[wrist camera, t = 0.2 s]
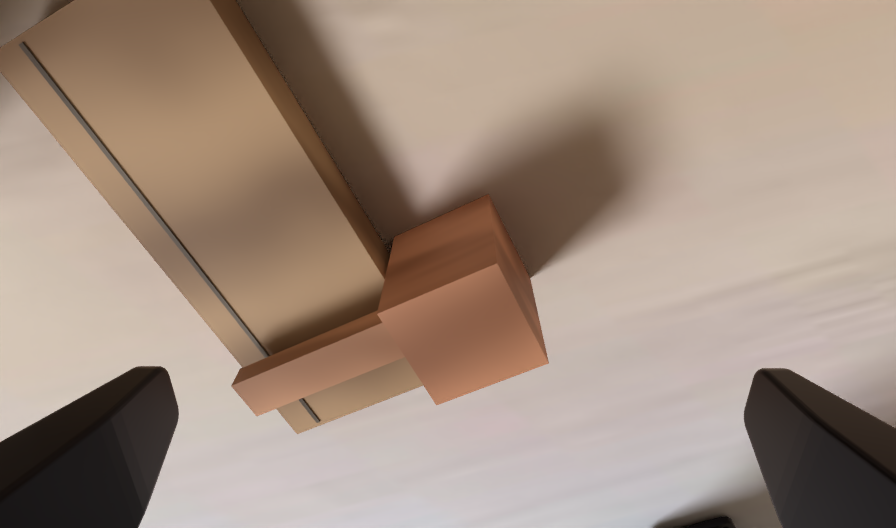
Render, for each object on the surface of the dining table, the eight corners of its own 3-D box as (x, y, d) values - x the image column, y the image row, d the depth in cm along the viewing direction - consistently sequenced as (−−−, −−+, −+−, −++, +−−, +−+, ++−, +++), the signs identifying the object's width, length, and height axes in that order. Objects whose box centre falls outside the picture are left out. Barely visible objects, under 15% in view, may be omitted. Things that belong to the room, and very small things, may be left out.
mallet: (530, 278, 24) (548, 363, 19) (299, 373, 26) (262, 470, 21) (488, 193, 22) (497, 263, 17) (245, 303, 24) (193, 391, 20)
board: (446, 346, 25) (445, 377, 23) (307, 401, 27) (296, 435, 25) (198, -61, 18) (169, -62, 16) (29, 46, 20) (-14, 56, 18)
